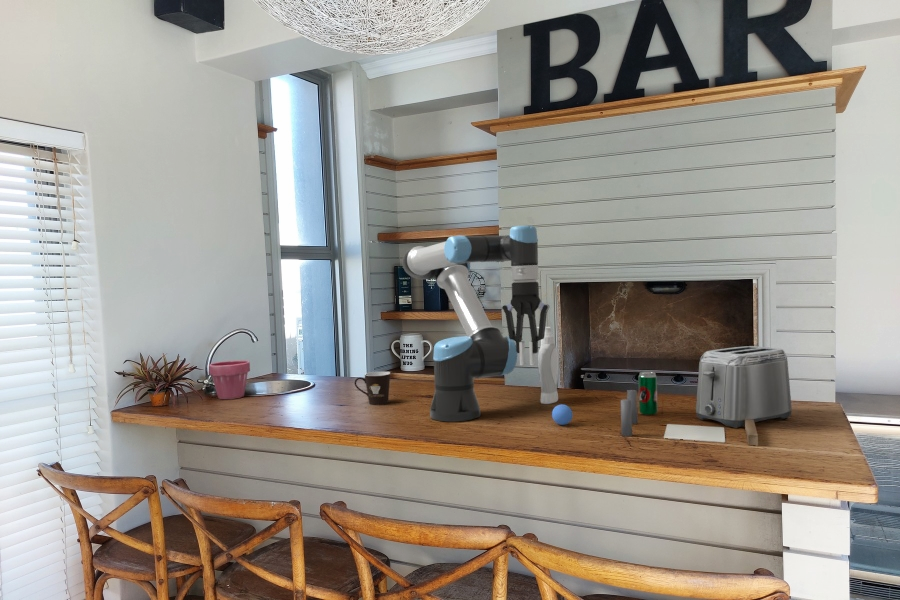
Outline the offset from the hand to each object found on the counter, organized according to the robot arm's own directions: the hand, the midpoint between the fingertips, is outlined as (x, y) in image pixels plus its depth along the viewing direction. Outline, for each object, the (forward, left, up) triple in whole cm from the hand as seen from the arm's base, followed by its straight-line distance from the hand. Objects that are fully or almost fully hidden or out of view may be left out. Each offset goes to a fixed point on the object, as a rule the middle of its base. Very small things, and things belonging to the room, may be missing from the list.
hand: (527, 364), depth 173 cm
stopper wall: (+57, 0, -16) cm, 59 cm away
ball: (+10, 0, -14) cm, 17 cm away
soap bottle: (-2, +29, -17) cm, 34 cm away
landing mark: (+44, 0, -16) cm, 47 cm away
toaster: (+57, +20, -17) cm, 62 cm away
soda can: (+31, +19, -17) cm, 40 cm away
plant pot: (-116, +9, -17) cm, 118 cm away
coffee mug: (-57, +13, -17) cm, 61 cm away
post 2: (+28, +6, -16) cm, 33 cm away
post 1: (+28, -6, -16) cm, 33 cm away
